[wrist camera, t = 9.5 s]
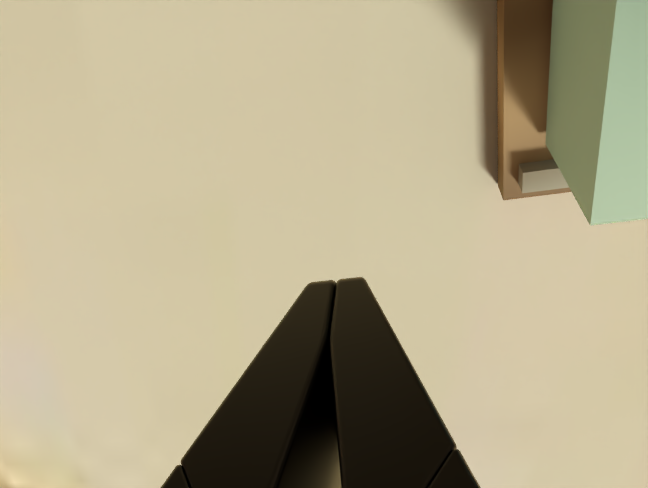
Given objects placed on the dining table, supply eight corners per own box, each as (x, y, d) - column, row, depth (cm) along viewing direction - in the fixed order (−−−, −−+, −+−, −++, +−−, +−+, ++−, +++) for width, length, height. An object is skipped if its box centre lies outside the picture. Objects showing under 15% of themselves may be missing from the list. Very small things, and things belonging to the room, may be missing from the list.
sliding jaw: (627, 132, 18) (695, 213, 14) (545, 143, 18) (590, 225, 15) (671, -159, 13) (786, -149, 10) (559, -136, 14) (630, -117, 10)
